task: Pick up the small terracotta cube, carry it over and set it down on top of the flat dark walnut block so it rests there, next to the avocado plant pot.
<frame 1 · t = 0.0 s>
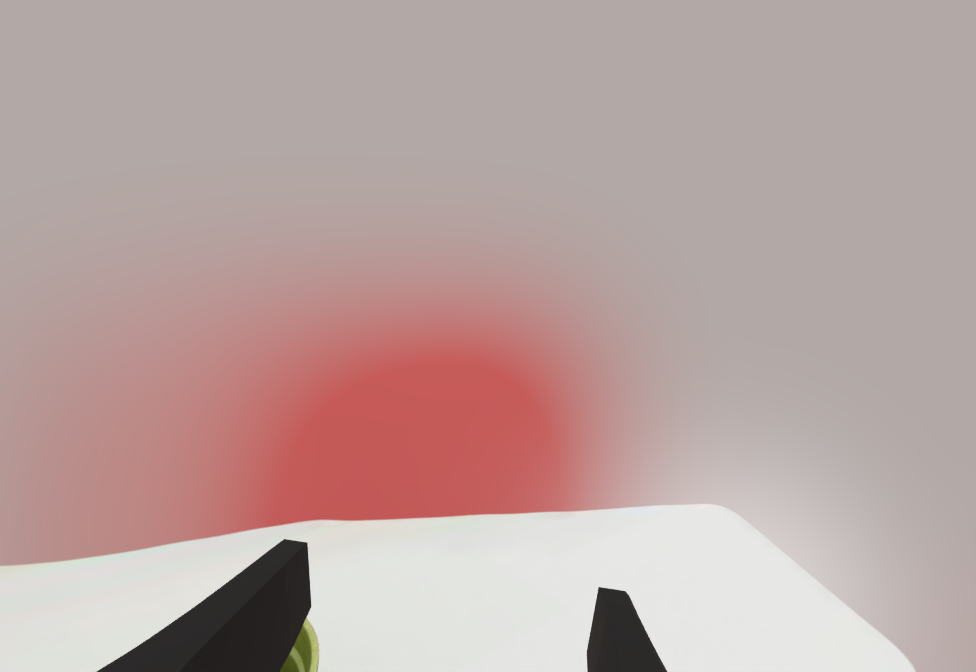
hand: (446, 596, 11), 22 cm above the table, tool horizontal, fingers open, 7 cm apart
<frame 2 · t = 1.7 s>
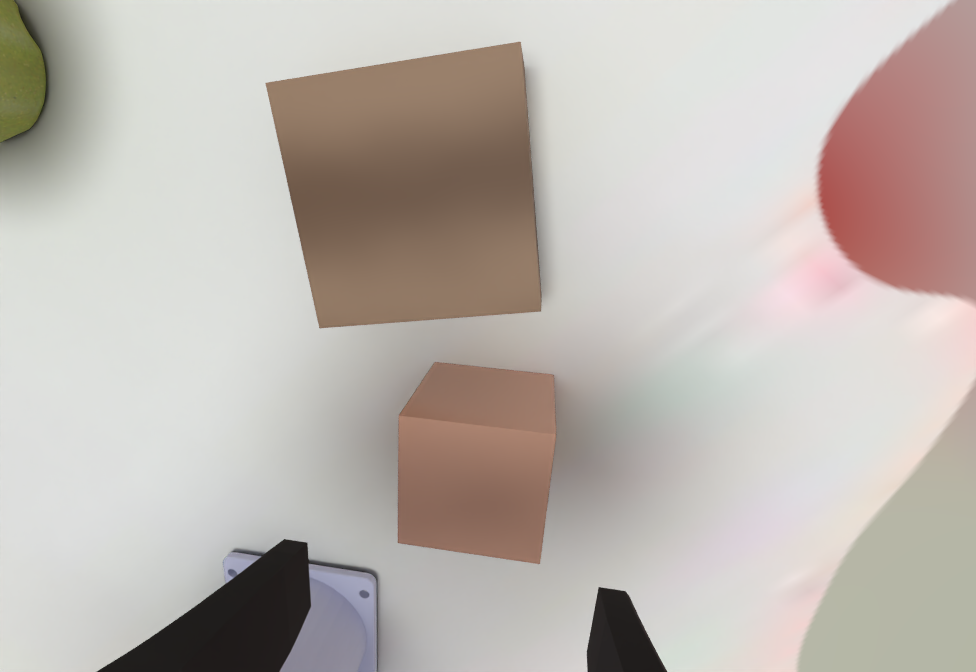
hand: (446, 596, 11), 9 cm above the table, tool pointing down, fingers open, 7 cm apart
walnut block: (430, 200, 17), on the table
terracotta cube: (489, 421, 20), on the table
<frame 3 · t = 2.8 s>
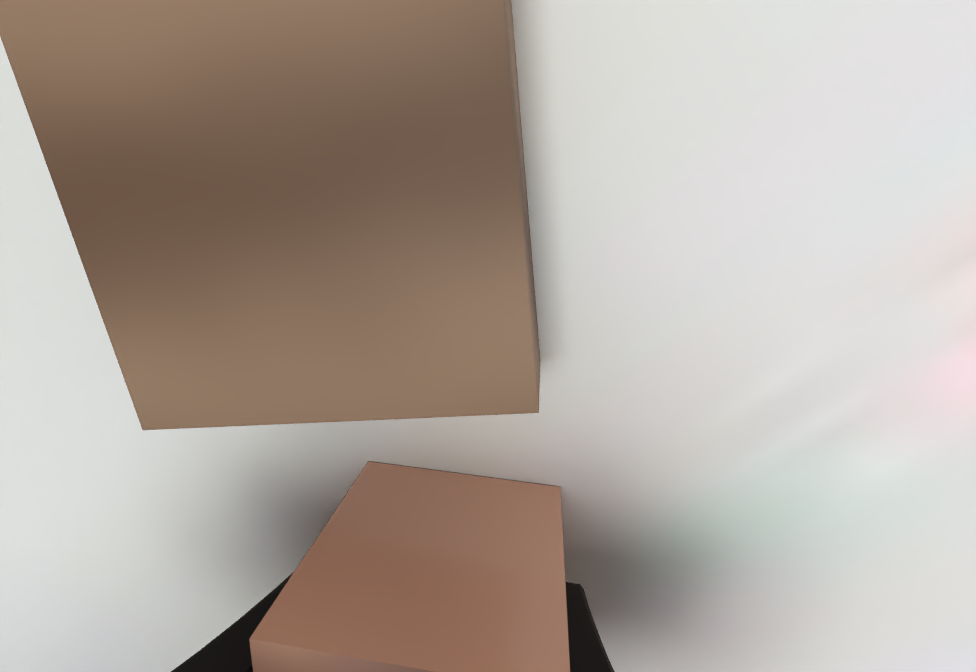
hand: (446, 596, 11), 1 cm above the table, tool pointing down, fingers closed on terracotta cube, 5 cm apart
walnut block: (350, 201, 10), on the table
terracotta cube: (457, 552, 12), on the table, touching gripper
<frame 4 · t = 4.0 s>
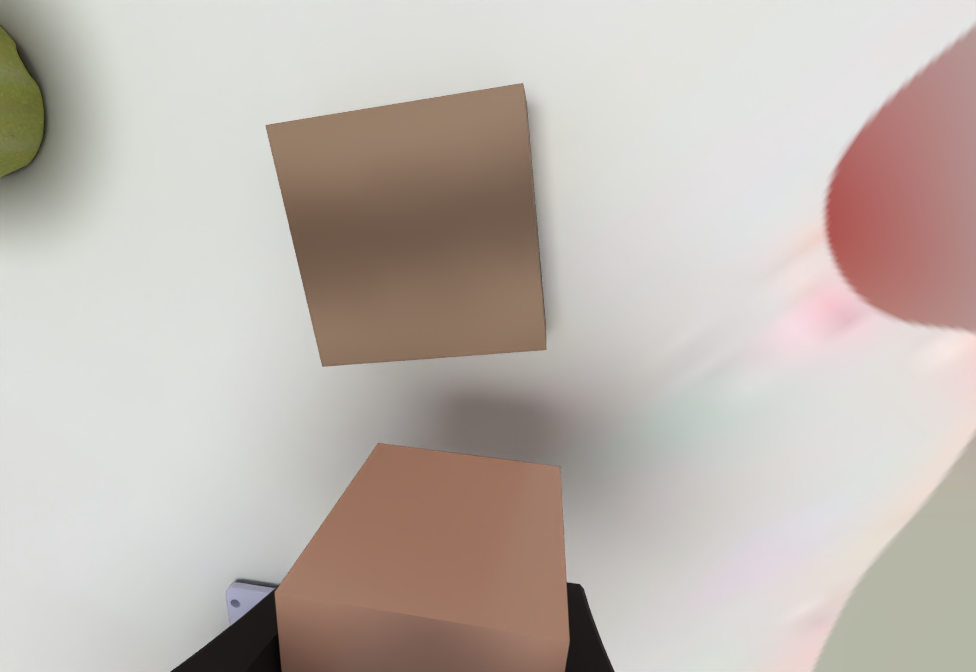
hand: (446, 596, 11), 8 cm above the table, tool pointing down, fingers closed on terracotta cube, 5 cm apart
walnut block: (432, 234, 17), on the table
terracotta cube: (462, 530, 13), point 6 cm above the table, touching gripper
when the fingers open (6 cm above the table, at t = 5.5 s): terracotta cube stays where it is, resting on walnut block.
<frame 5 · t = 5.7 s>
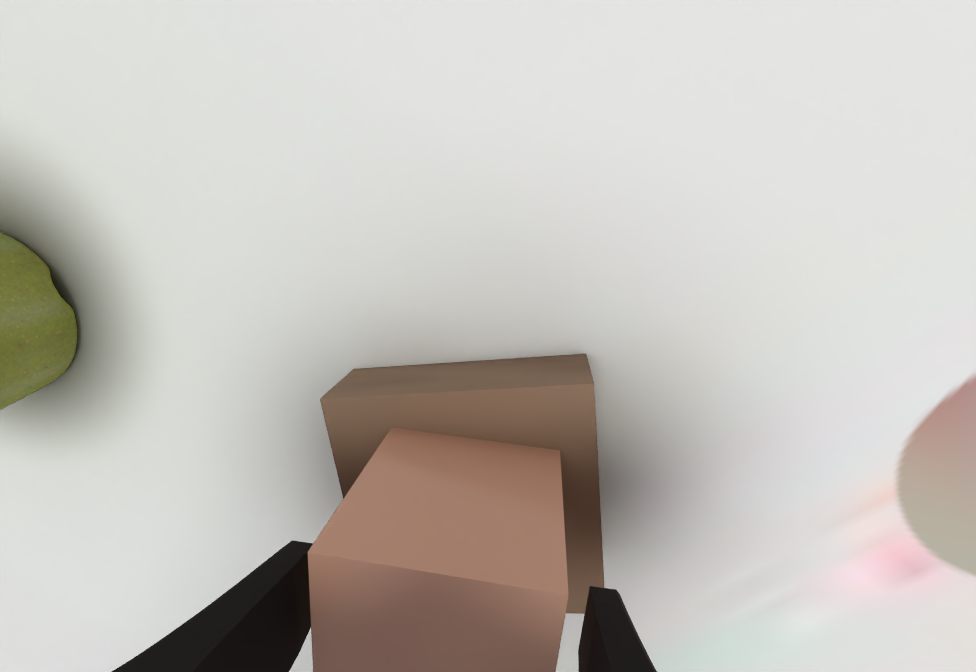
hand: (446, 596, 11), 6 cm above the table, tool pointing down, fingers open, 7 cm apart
walnut block: (481, 457, 17), on the table, touching terracotta cube
terracotta cube: (468, 509, 14), point 2 cm above the table, touching walnut block
plant pot: (14, 309, 17), on the table
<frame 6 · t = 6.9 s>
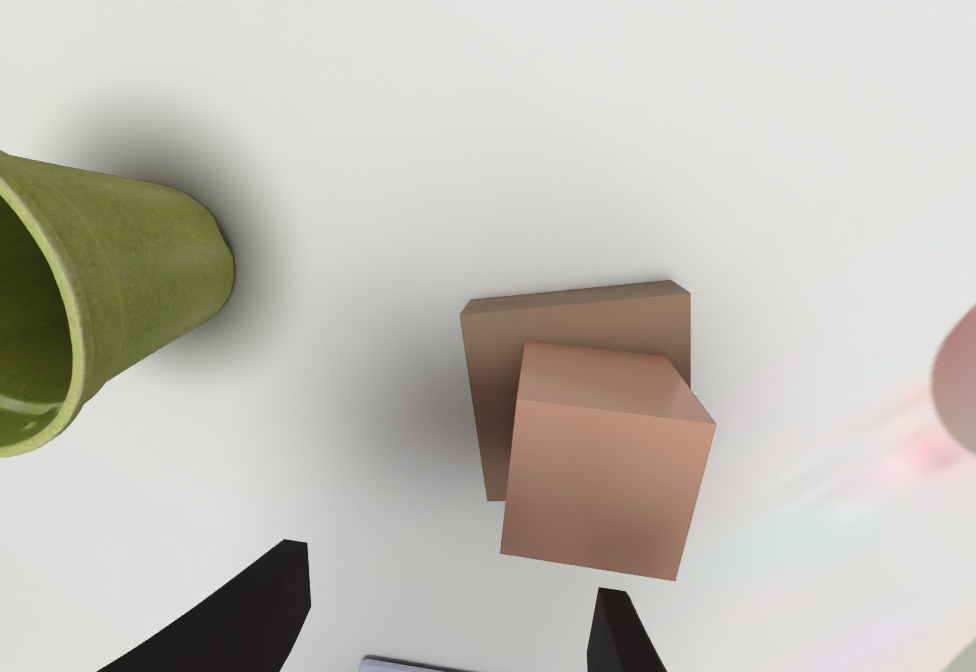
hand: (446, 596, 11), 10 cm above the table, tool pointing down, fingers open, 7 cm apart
walnut block: (573, 377, 20), on the table, touching terracotta cube
terracotta cube: (584, 410, 17), point 2 cm above the table, touching walnut block
plant pot: (177, 257, 20), on the table
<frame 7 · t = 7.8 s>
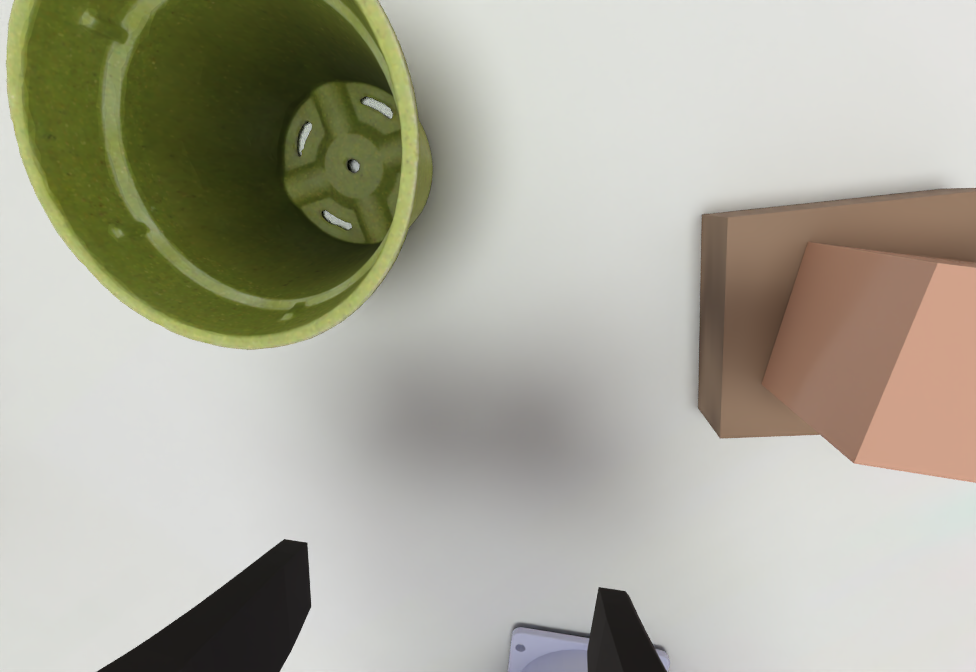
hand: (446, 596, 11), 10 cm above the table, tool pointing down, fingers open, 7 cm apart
walnut block: (802, 306, 18), on the table
terracotta cube: (861, 327, 15), point 3 cm above the table
plant pot: (362, 168, 18), on the table
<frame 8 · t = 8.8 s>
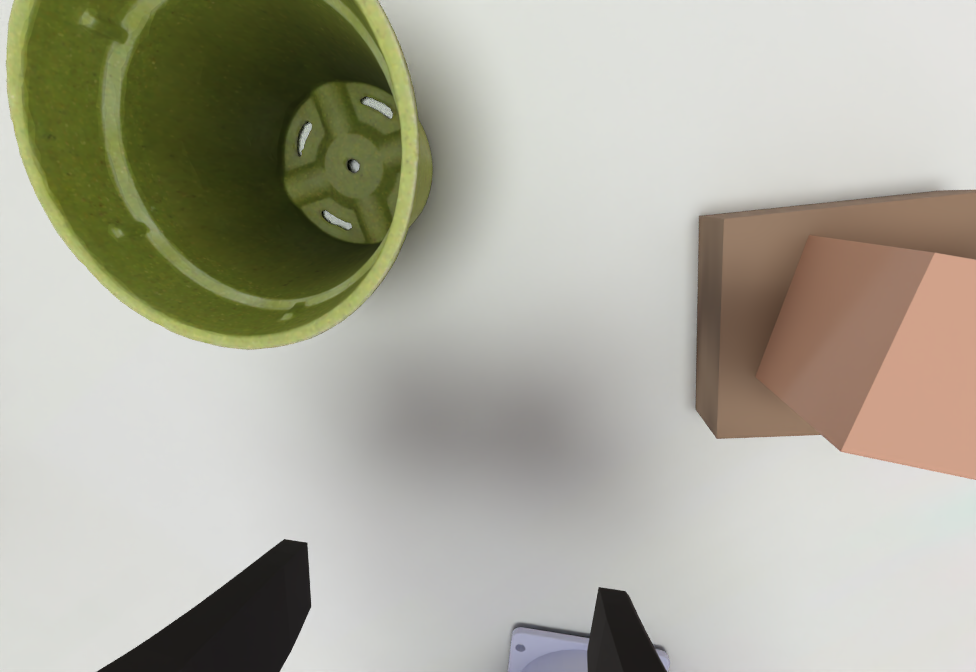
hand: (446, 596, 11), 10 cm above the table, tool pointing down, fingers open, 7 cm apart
walnut block: (798, 307, 18), on the table, touching terracotta cube
terracotta cube: (857, 323, 15), point 2 cm above the table, touching walnut block
plant pot: (362, 168, 18), on the table
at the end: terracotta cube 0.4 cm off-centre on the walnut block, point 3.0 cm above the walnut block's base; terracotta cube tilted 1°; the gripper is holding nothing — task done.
